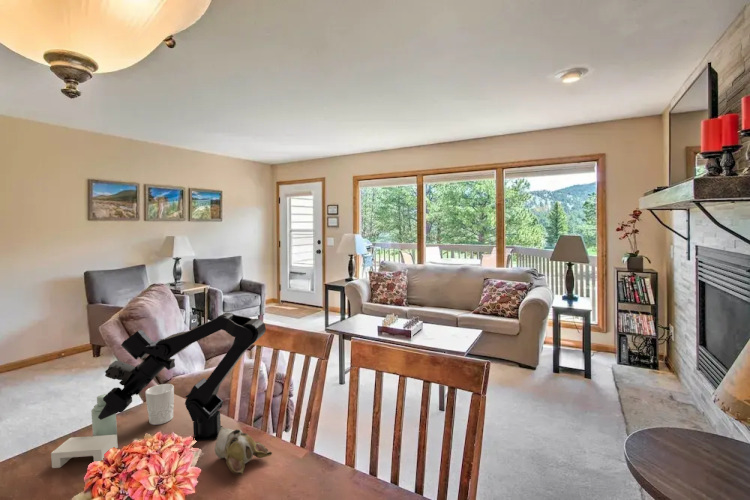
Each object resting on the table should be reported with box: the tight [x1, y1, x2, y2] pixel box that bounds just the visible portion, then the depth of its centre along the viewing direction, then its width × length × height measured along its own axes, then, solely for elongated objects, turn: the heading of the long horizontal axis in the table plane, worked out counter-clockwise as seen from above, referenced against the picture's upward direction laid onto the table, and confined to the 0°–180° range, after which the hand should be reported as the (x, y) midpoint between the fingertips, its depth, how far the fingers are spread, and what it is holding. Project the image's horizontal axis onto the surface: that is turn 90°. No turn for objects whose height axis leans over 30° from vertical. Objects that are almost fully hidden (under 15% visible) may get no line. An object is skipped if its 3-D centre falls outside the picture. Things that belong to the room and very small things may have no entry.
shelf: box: [50, 434, 119, 469], centre depth 100 cm, size 12×7×4 cm, turn 96°
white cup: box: [144, 383, 175, 426], centre depth 119 cm, size 8×8×10 cm
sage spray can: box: [91, 393, 118, 436], centre depth 108 cm, size 6×6×13 cm
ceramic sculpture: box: [214, 427, 273, 476], centre depth 97 cm, size 11×9×15 cm
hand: (107, 410), depth 108 cm, fingers open, 9 cm apart
